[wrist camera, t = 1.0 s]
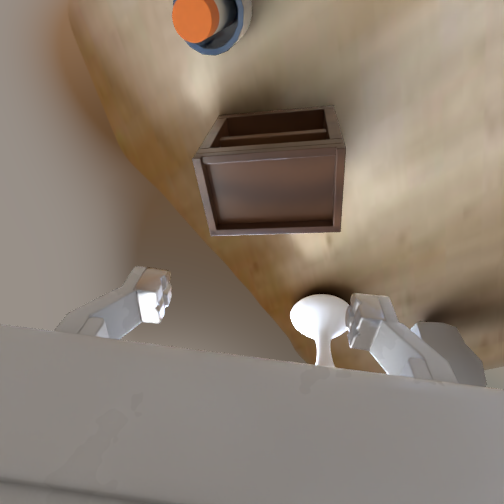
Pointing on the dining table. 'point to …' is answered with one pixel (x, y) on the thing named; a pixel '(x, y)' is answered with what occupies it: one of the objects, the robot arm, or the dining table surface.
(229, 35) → the pen cup
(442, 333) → the bottle
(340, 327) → the flower in vase
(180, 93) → the dining table surface
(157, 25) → the dining table surface
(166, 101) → the dining table surface
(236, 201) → the small wooden shelf
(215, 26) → the marker
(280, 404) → the robot arm
